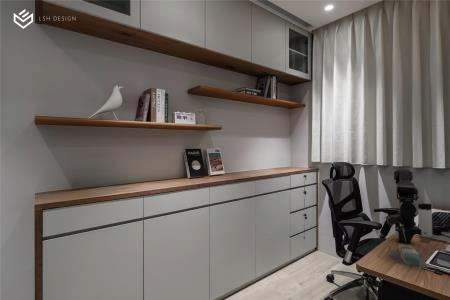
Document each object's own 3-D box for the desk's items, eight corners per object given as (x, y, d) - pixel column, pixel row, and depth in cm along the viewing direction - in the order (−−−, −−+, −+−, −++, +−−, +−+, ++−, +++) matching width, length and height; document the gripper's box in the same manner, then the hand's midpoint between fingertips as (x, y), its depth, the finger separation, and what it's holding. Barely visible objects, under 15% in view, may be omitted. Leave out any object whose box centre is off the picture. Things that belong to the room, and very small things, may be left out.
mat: (388, 250, 125) (388, 249, 125) (417, 254, 120) (417, 253, 120) (396, 264, 110) (396, 263, 110) (429, 269, 105) (429, 267, 105)
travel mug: (427, 239, 139) (427, 204, 140) (416, 235, 146) (415, 202, 146) (435, 237, 141) (434, 203, 141) (423, 234, 147) (422, 201, 148)
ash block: (399, 244, 118) (405, 252, 109) (411, 246, 116) (418, 254, 107) (399, 255, 118) (405, 263, 109) (412, 256, 116) (419, 265, 107)
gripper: (382, 205, 126) (383, 234, 126) (391, 213, 109) (391, 248, 109) (408, 206, 122) (409, 237, 122) (421, 216, 105) (422, 251, 105)
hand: (407, 243), depth 114 cm, fingers closed
